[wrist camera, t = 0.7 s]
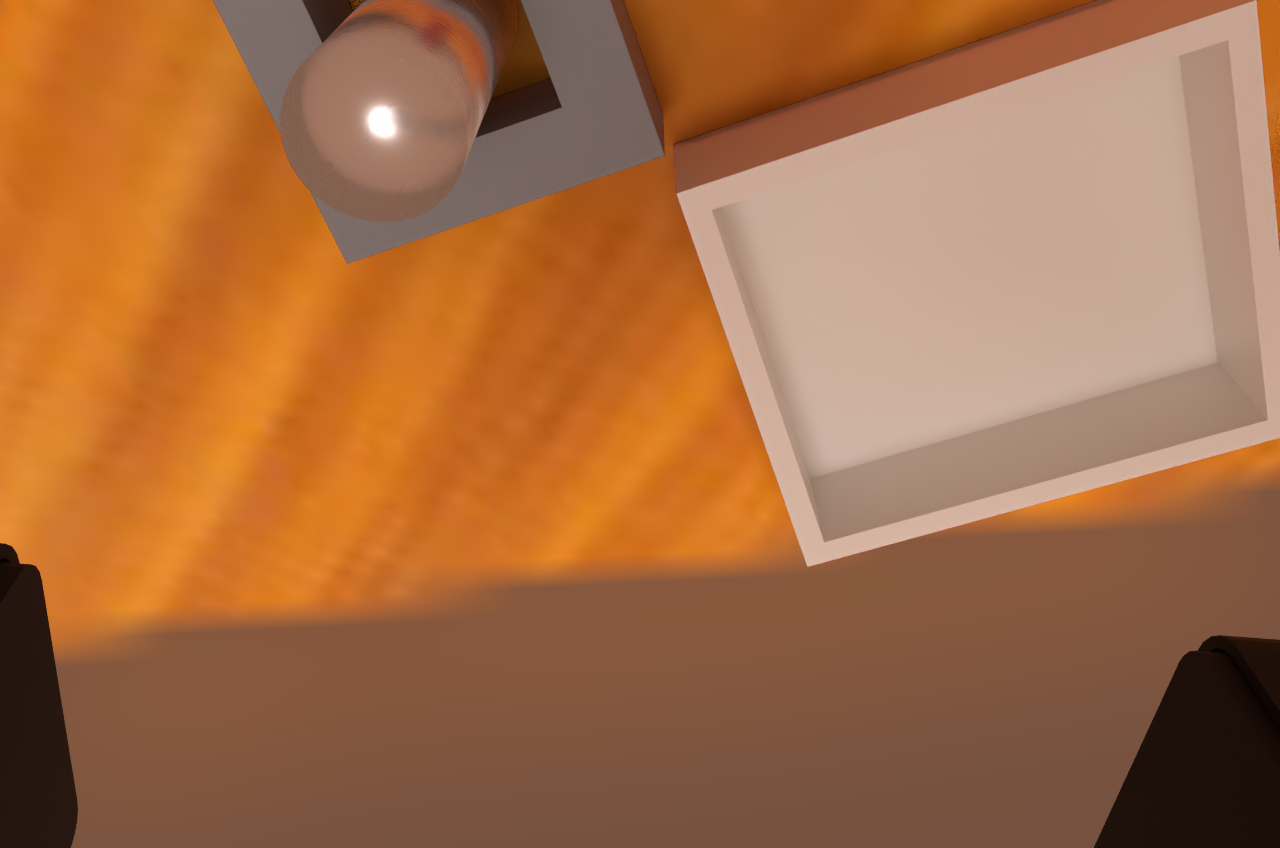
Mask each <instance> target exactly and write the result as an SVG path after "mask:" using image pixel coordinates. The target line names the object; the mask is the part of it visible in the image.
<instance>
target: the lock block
mask: <svg viewBox="0 0 1280 848" xmlns="http://www.w3.org/2000/svg"><path fill="white" fill-rule="evenodd" d="M213 2H214V4H215V6H216V8H217V10H218V12H219V13H220V15H221V17H222V19H223V21H224V23H225V25H226V27H227V29H228V31H229V33H230V35H231V37H232V39H233V41H234V43H235V45H236V47H237V49H238V51H239V53H240V55H241V57H242V59H243V61H244V63H245V64H246V66H247V68H248V70H249V72H250V74H251V76H252V78H253V80H254V82H255V84H256V86H257V88H258V90H259V92H260V94H261V96H262V98H263V100H264V102H265V104H266V106H267V108H268V110H269V112H270V113H271V115H272V117H273V119H274V121H275V123H276V125H277V127H278V129H279V131H280V112H281V104H282V100H283V96H284V93H285V91H286V88H287V86H288V83H289V82H290V80H291V78H292V77H293V75H294V73H295V72H296V71H297V70H298V68H299V67H300V66H301V65H302V64H303V63H304V62H305V61H306V60H307V58H308V57H309V56H310V55H311V54H312V53H313V52H314V51H315V50H316V49H317V48H318V47H319V46H320V45H321V44H322V43H323V42H324V41H325V40H326V39H327V38H328V37H329V36H330V35H331V34H332V33H333V32H334V31H335V30H336V29H337V28H338V27H339V26H340V25H341V24H342V23H343V21H344V20H345V19H346V18H347V17H348V16H349V15H350V14H351V13H352V12H353V10H352V8H351V6H350V4H349V1H348V0H213ZM521 2H522V5H523V7H524V10H525V13H526V15H527V18H528V20H529V23H530V26H531V28H532V31H533V33H534V36H535V39H536V41H537V44H538V46H539V49H540V51H541V54H542V57H543V59H544V62H545V64H546V67H547V70H548V72H549V75H550V77H551V78H548V79H545V80H542V81H540V82H537V83H534V84H531V85H528V86H526V87H523V88H520V89H517V90H515V91H512V92H509V93H506V94H503V95H501V96H498V97H495V98H492V99H491V100H490V102H489V105H488V107H487V110H486V112H485V115H484V117H483V120H482V122H481V125H480V127H479V130H478V132H477V135H476V137H475V140H474V142H473V145H472V147H471V150H470V152H469V155H468V157H467V160H466V162H465V165H464V167H463V170H462V172H461V174H460V176H459V178H458V180H457V182H456V184H455V185H454V187H453V188H452V190H451V191H450V193H449V194H448V195H447V196H446V197H445V198H444V199H443V200H442V201H441V202H440V203H438V204H437V205H436V206H435V207H433V208H432V209H430V210H428V211H427V212H425V213H423V214H421V215H419V216H416V217H414V218H410V219H407V220H403V221H397V222H371V221H365V220H361V219H356V218H353V217H351V216H348V215H345V214H343V213H341V212H339V211H337V210H335V209H333V208H331V207H330V206H328V205H327V204H325V203H324V202H322V201H321V200H320V199H319V198H318V197H316V196H315V195H314V194H313V193H312V192H311V191H310V192H311V194H312V196H313V198H314V200H315V202H316V204H317V206H318V208H319V210H320V212H321V213H322V215H323V217H324V219H325V221H326V223H327V225H328V227H329V229H330V231H331V233H332V235H333V237H334V239H335V241H336V243H337V245H338V247H339V249H340V251H341V253H342V255H343V257H344V259H345V261H346V262H347V264H348V263H351V262H354V261H357V260H360V259H363V258H366V257H369V256H372V255H375V254H377V253H380V252H383V251H386V250H389V249H392V248H395V247H398V246H401V245H404V244H407V243H410V242H413V241H416V240H419V239H422V238H425V237H427V236H430V235H433V234H436V233H439V232H442V231H445V230H448V229H451V228H454V227H457V226H460V225H463V224H466V223H469V222H472V221H474V220H477V219H480V218H483V217H486V216H489V215H492V214H495V213H498V212H501V211H504V210H507V209H510V208H513V207H516V206H519V205H522V204H524V203H527V202H530V201H533V200H536V199H539V198H542V197H545V196H548V195H551V194H554V193H557V192H560V191H563V190H566V189H569V188H571V187H574V186H577V185H580V184H583V183H586V182H589V181H592V180H595V179H598V178H601V177H604V176H607V175H610V174H613V173H616V172H619V171H621V170H624V169H627V168H630V167H633V166H636V165H639V164H642V163H645V162H648V161H651V160H654V159H657V158H660V157H663V156H665V149H664V124H663V113H662V110H661V108H660V105H659V102H658V99H657V96H656V93H655V90H654V87H653V84H652V82H651V79H650V76H649V73H648V70H647V67H646V64H645V61H644V58H643V55H642V53H641V50H640V47H639V44H638V41H637V38H636V35H635V32H634V29H633V27H632V24H631V21H630V18H629V15H628V12H627V9H626V6H625V3H624V0H521ZM280 133H281V131H280Z"/></svg>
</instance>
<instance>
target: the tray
mask: <svg viewBox="0 0 1280 848" xmlns="http://www.w3.org/2000/svg"><path fill="white" fill-rule="evenodd" d="M673 147H674V164H675V180H676V194H677V197H678V200H679V203H680V205H681V208H682V211H683V214H684V217H685V220H686V223H687V225H688V228H689V231H690V234H691V237H692V240H693V242H694V245H695V248H696V251H697V254H698V257H699V259H700V262H701V265H702V268H703V271H704V274H705V277H706V279H707V282H708V285H709V288H710V291H711V294H712V296H713V299H714V302H715V305H716V308H717V311H718V314H719V316H720V319H721V322H722V325H723V328H724V331H725V333H726V336H727V339H728V342H729V345H730V348H731V351H732V353H733V356H734V359H735V362H736V365H737V368H738V370H739V373H740V376H741V379H742V382H743V385H744V388H745V390H746V393H747V396H748V399H749V402H750V405H751V407H752V410H753V413H754V416H755V419H756V422H757V425H758V427H759V430H760V433H761V436H762V439H763V442H764V444H765V447H766V450H767V453H768V456H769V459H770V461H771V464H772V467H773V470H774V473H775V476H776V479H777V481H778V484H779V487H780V490H781V493H782V496H783V498H784V501H785V504H786V507H787V510H788V513H789V516H790V518H791V521H792V524H793V527H794V530H795V533H796V535H797V538H798V541H799V544H800V547H801V550H802V553H803V555H804V558H805V561H806V564H807V567H808V566H812V565H816V564H819V563H823V562H827V561H830V560H834V559H838V558H841V557H845V556H849V555H852V554H856V553H860V552H863V551H867V550H871V549H874V548H878V547H882V546H885V545H889V544H893V543H896V542H900V541H904V540H907V539H911V538H915V537H918V536H922V535H926V534H929V533H933V532H937V531H940V530H944V529H948V528H951V527H955V526H959V525H962V524H966V523H970V522H973V521H977V520H981V519H984V518H988V517H992V516H995V515H999V514H1003V513H1006V512H1010V511H1014V510H1017V509H1021V508H1025V507H1028V506H1032V505H1036V504H1039V503H1043V502H1047V501H1050V500H1054V499H1058V498H1061V497H1065V496H1069V495H1072V494H1076V493H1080V492H1083V491H1087V490H1091V489H1094V488H1098V487H1102V486H1105V485H1109V484H1113V483H1116V482H1120V481H1124V480H1127V479H1131V478H1135V477H1138V476H1142V475H1146V474H1149V473H1153V472H1157V471H1160V470H1164V469H1168V468H1171V467H1175V466H1179V465H1182V464H1186V463H1190V462H1193V461H1197V460H1201V459H1204V458H1208V457H1212V456H1215V455H1219V454H1223V453H1226V452H1230V451H1234V450H1237V449H1241V448H1245V447H1248V446H1252V445H1256V444H1259V443H1263V442H1267V441H1270V440H1274V439H1278V438H1280V251H1279V241H1278V230H1277V219H1276V208H1275V197H1274V186H1273V175H1272V164H1271V153H1270V142H1269V131H1268V121H1267V110H1266V99H1265V88H1264V77H1263V66H1262V55H1261V44H1260V33H1259V22H1258V11H1257V1H1256V0H1096V1H1093V2H1090V3H1087V4H1084V5H1081V6H1078V7H1075V8H1072V9H1070V10H1067V11H1064V12H1061V13H1058V14H1055V15H1052V16H1049V17H1046V18H1043V19H1040V20H1037V21H1034V22H1031V23H1029V24H1026V25H1023V26H1020V27H1017V28H1014V29H1011V30H1008V31H1005V32H1002V33H999V34H996V35H993V36H990V37H988V38H985V39H982V40H979V41H976V42H973V43H970V44H967V45H964V46H961V47H958V48H955V49H952V50H949V51H947V52H944V53H941V54H938V55H935V56H932V57H929V58H926V59H923V60H920V61H917V62H914V63H911V64H908V65H906V66H903V67H900V68H897V69H894V70H891V71H888V72H885V73H882V74H879V75H876V76H873V77H870V78H867V79H865V80H862V81H859V82H856V83H853V84H850V85H847V86H844V87H841V88H838V89H835V90H832V91H829V92H826V93H824V94H821V95H818V96H815V97H812V98H809V99H806V100H803V101H800V102H797V103H794V104H791V105H788V106H785V107H782V108H780V109H777V110H774V111H771V112H768V113H765V114H762V115H759V116H756V117H753V118H750V119H747V120H744V121H741V122H739V123H736V124H733V125H730V126H727V127H724V128H721V129H718V130H715V131H712V132H709V133H706V134H703V135H700V136H698V137H695V138H692V139H689V140H686V141H683V142H680V143H677V144H674V145H673Z"/></svg>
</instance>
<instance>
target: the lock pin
mask: <svg viewBox="0 0 1280 848" xmlns="http://www.w3.org/2000/svg"><path fill="white" fill-rule="evenodd" d="M517 27H518V8H517V2H516V0H364V1H363V2H362V3H361V4H360V5H359V6H358V7H357V8H356V9H355V10H354V11H353V12H352V13H351V14H350V15H349V16H348V17H347V18H346V19H345V20H344V21H343V23H342V24H341V25H340V26H339V27H338V28H337V29H336V30H335V31H334V32H333V33H332V34H331V35H330V36H329V37H328V38H327V39H326V40H325V41H324V42H323V43H322V44H321V45H320V46H319V47H318V48H317V49H316V50H315V51H314V52H313V53H312V54H311V55H310V56H309V57H308V58H307V60H306V61H305V62H304V63H303V64H302V65H301V66H300V67H299V68H298V70H297V71H296V72H295V73H294V75H293V77H292V78H291V80H290V82H289V83H288V86H287V88H286V91H285V93H284V96H283V100H282V104H281V112H280V131H281V137H282V142H283V146H284V149H285V152H286V155H287V157H288V159H289V162H290V164H291V166H292V167H293V169H294V171H295V172H296V174H297V176H298V177H299V178H300V180H301V181H302V182H303V184H304V185H305V186H306V187H307V188H308V189H309V190H310V191H311V192H312V193H313V194H314V195H315V196H316V197H318V198H319V199H320V200H321V201H322V202H324V203H325V204H327V205H328V206H330V207H331V208H333V209H335V210H337V211H339V212H341V213H343V214H345V215H348V216H351V217H353V218H356V219H361V220H365V221H371V222H397V221H403V220H407V219H410V218H414V217H416V216H419V215H421V214H423V213H425V212H427V211H428V210H430V209H432V208H433V207H435V206H436V205H437V204H438V203H440V202H441V201H442V200H443V199H444V198H445V197H446V196H447V195H448V194H449V193H450V191H451V190H452V188H453V187H454V185H455V184H456V182H457V180H458V178H459V176H460V174H461V172H462V170H463V167H464V165H465V162H466V160H467V157H468V155H469V152H470V150H471V147H472V145H473V142H474V140H475V137H476V135H477V132H478V130H479V127H480V125H481V122H482V120H483V117H484V115H485V112H486V110H487V107H488V105H489V102H490V100H491V97H492V95H493V92H494V90H495V87H496V85H497V82H498V80H499V77H500V75H501V72H502V70H503V67H504V65H505V62H506V60H507V57H508V55H509V52H510V50H511V47H512V45H513V42H514V39H515V36H516V32H517Z"/></svg>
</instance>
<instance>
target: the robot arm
mask: <svg viewBox="0 0 1280 848" xmlns="http://www.w3.org/2000/svg"><path fill="white" fill-rule="evenodd" d="M77 814H78V806H77V797H76V791H75V784H74V778H73V771H72V765H71V759H70V753H69V747H68V740H67V734H66V728H65V722H64V715H63V709H62V704H61V697H60V691H59V684H58V678H57V672H56V666H55V659H54V653H53V647H52V641H51V635H50V628H49V622H48V616H47V610H46V603H45V597H44V591H43V585H42V579H41V576H40V572H39V570H38V569H37V567H36V566H34V565H30V564H20V563H19V559H18V556H17V553H16V552H15V550H14V549H13V547H12V546H10V545H7V544H2V543H0V848H70V847H71V845H72V841H73V838H74V834H75V829H76V824H77ZM1094 848H1280V640H1274V639H1261V638H1247V637H1234V636H1221V635H1220V636H1212V637H1210V638H1208V639H1207V640H1206V641H1204V642H1203V643H1202V645H1201V646H1200V648H1199V649H1198V651H1190V652H1188V653H1187V654H1185V655H1184V656H1183V657H1182V659H1181V661H1180V662H1179V664H1178V666H1177V668H1176V671H1175V673H1174V675H1173V677H1172V679H1171V681H1170V683H1169V686H1168V688H1167V690H1166V692H1165V694H1164V696H1163V699H1162V701H1161V703H1160V706H1159V707H1158V710H1157V712H1156V714H1155V716H1154V718H1153V720H1152V722H1151V725H1150V727H1149V729H1148V731H1147V733H1146V736H1145V738H1144V740H1143V742H1142V744H1141V746H1140V749H1139V751H1138V753H1137V755H1136V757H1135V759H1134V762H1133V764H1132V766H1131V768H1130V770H1129V772H1128V775H1127V777H1126V779H1125V781H1124V783H1123V785H1122V788H1121V790H1120V792H1119V794H1118V796H1117V799H1116V801H1115V803H1114V805H1113V807H1112V809H1111V812H1110V814H1109V816H1108V818H1107V820H1106V822H1105V825H1104V827H1103V829H1102V831H1101V833H1100V835H1099V838H1098V840H1097V842H1096V844H1095V846H1094Z"/></svg>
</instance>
